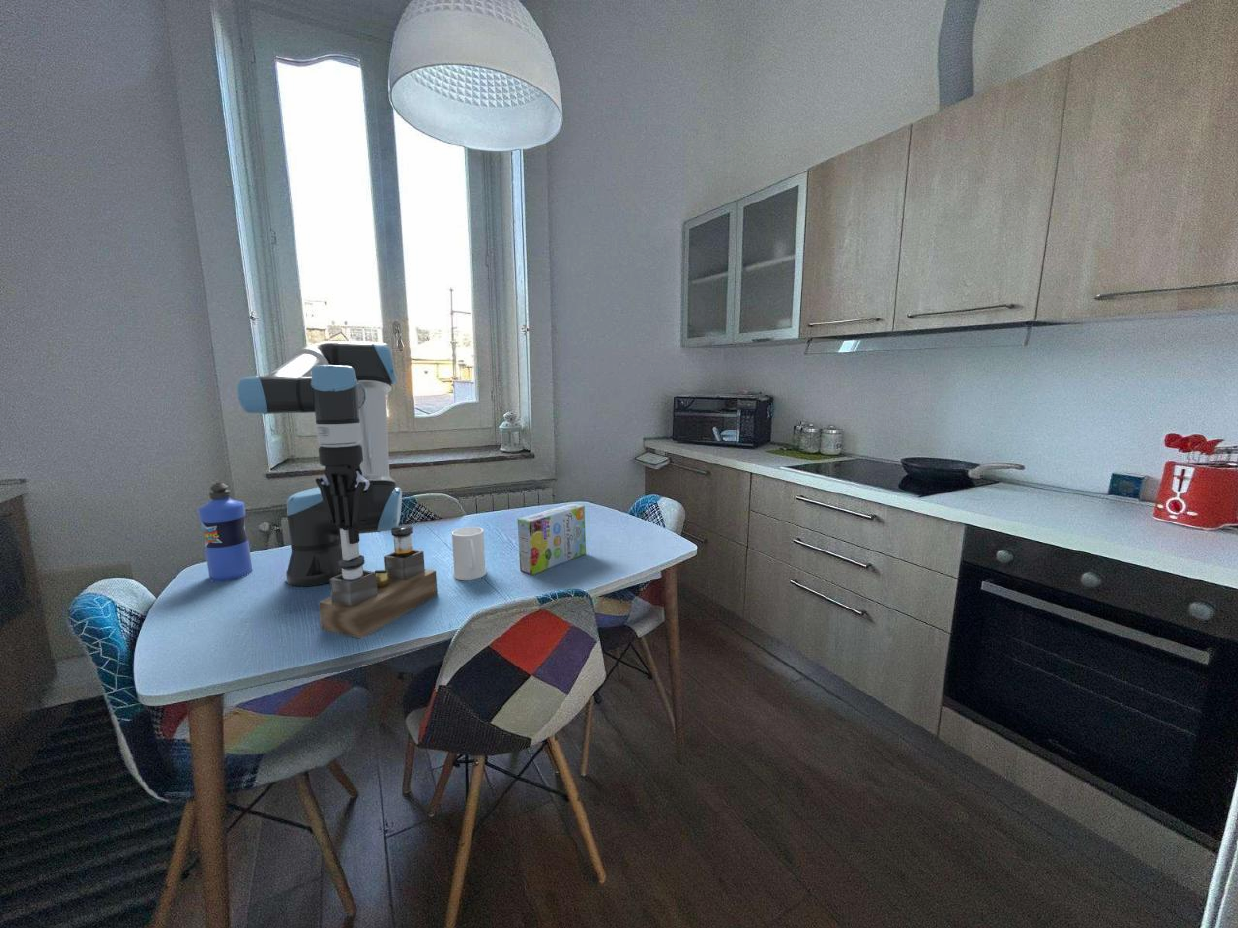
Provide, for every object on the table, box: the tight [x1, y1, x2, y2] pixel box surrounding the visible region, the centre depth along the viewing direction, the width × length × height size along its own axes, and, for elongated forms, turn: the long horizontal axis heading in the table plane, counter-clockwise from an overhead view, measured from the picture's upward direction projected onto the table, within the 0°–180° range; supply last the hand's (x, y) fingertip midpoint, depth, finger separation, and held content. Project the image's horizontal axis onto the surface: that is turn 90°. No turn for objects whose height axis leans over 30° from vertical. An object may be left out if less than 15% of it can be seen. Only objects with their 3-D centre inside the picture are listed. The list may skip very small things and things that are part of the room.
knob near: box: [339, 554, 365, 582], centre depth 101 cm, size 5×5×8 cm
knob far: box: [390, 525, 414, 558], centre depth 113 cm, size 5×5×8 cm
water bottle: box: [198, 482, 253, 582], centre depth 127 cm, size 9×9×25 cm
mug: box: [451, 526, 487, 581], centre depth 127 cm, size 12×8×12 cm
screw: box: [374, 569, 389, 588], centre depth 108 cm, size 3×3×3 cm
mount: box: [318, 549, 439, 640], centre depth 108 cm, size 11×22×11 cm, turn 160°
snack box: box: [517, 503, 587, 576], centre depth 137 cm, size 21×6×15 cm, turn 141°
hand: (351, 557), depth 100 cm, fingers closed
